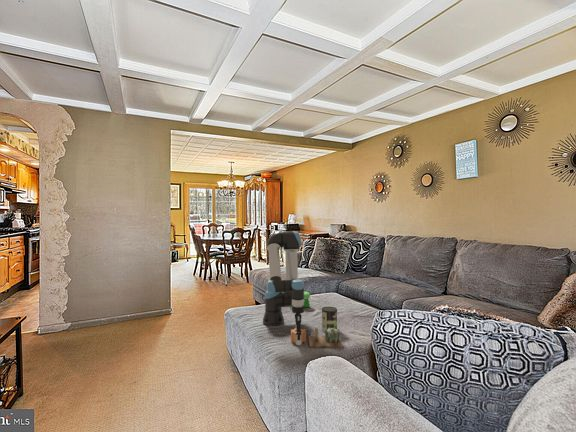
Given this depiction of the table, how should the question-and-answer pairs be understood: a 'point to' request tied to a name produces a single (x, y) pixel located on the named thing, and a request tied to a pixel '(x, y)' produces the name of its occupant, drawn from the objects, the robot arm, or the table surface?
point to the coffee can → (329, 318)
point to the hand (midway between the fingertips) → (298, 340)
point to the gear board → (326, 339)
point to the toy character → (306, 299)
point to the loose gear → (293, 336)
